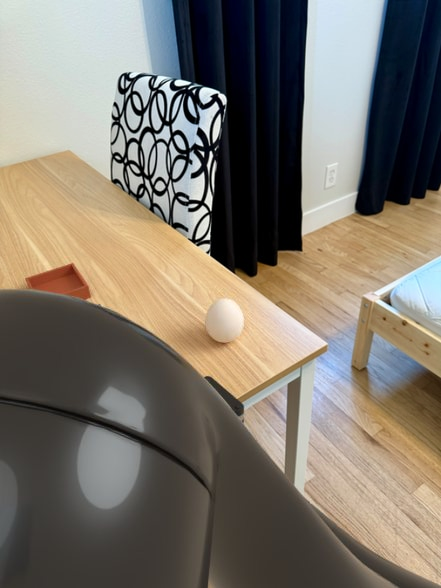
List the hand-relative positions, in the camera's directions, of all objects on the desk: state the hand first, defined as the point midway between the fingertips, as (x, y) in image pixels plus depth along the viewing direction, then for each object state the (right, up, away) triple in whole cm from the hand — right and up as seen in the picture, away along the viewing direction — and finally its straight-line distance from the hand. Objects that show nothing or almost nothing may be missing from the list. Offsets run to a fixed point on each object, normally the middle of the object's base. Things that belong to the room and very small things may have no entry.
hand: (131, 397), depth 46 cm
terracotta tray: (-20, +11, +33) cm, 41 cm away
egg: (+10, +4, +23) cm, 26 cm away
